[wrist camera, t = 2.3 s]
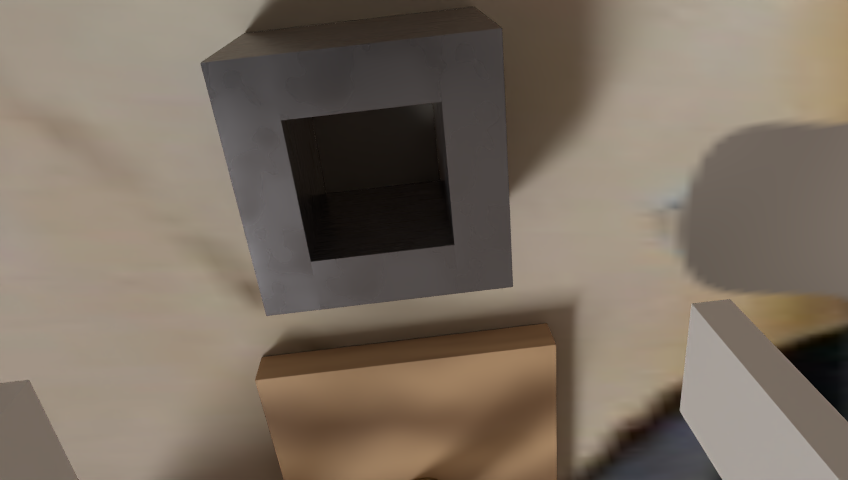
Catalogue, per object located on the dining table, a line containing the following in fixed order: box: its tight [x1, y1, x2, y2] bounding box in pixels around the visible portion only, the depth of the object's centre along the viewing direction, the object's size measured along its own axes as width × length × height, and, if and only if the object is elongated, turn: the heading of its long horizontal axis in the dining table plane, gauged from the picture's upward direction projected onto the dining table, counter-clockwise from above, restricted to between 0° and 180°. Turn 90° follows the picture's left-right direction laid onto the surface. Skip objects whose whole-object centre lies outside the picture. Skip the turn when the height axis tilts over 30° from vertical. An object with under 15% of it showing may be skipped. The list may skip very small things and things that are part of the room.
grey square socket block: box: [201, 7, 513, 316], centre depth 25 cm, size 10×10×7 cm
